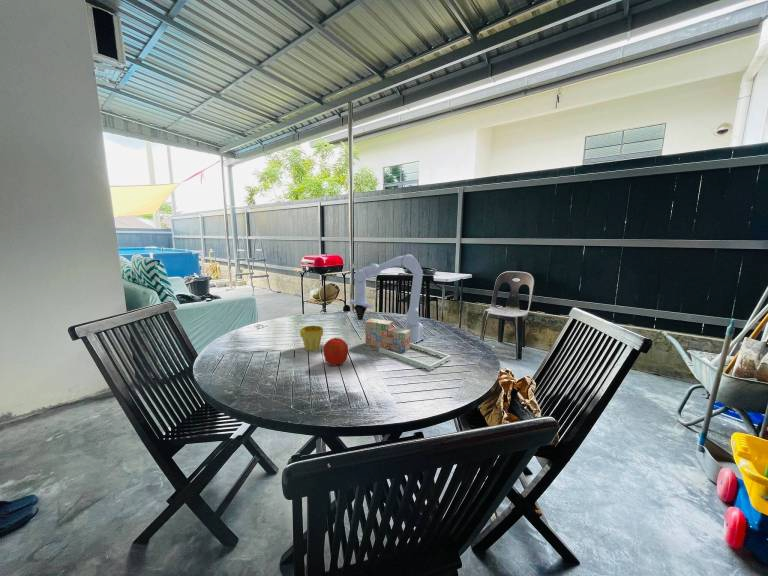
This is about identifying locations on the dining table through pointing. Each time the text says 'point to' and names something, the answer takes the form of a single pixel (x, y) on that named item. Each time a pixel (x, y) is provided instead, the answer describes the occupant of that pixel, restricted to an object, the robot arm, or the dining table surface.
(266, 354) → the dining table surface
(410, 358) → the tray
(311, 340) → the plant pot
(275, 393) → the dining table surface
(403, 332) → the stack of blocks
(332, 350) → the apple
